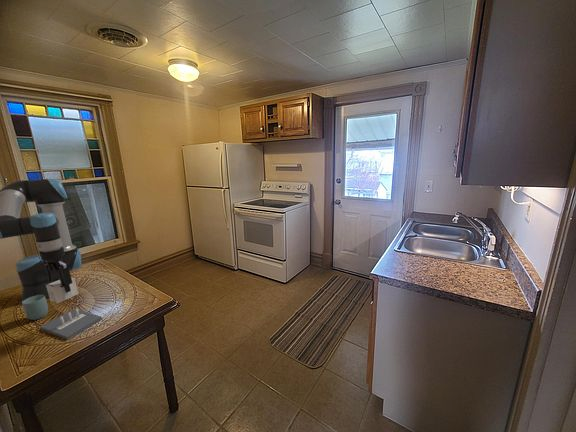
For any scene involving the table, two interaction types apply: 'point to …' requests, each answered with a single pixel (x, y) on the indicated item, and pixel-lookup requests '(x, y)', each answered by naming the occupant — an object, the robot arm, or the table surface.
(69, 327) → the board
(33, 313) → the cup
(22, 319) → the table surface
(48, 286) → the housing
